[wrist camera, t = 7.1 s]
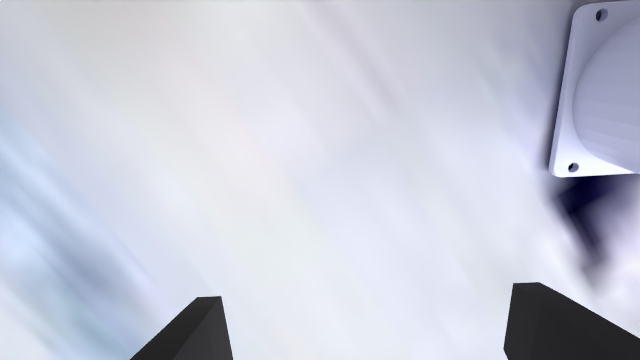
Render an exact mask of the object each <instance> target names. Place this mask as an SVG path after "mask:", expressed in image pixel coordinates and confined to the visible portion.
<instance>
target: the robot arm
mask: <svg viewBox="0 0 640 360" xmlns="http://www.w3.org/2000/svg"><path fill="white" fill-rule="evenodd" d="M599 10H600V12H601V18H600V20H598V21H597V20H596V13H597V12H598V11H599ZM572 163H573V167H572V168H571V169H570V170H568V167H569V165H570V164H572ZM549 171H550V173H551V174H553V175H554V176H556V177H576V176H594V175H611V174H629V173H638V174H640V0H628V1H615V2H603V3H591V4H587V5H583V6H581V7H580V8H578V9H577V10H576V12H575V13H574V16H573V20H572V26H571V32H570V39H569V45H568V51H567V57H566V63H565V70H564V76H563V82H562V88H561V94H560V101H559V107H558V113H557V119H556V125H555V132H554V138H553V144H552V150H551V156H550V163H549ZM504 351H505V354H506V356H507V358H508V360H640V338H638V337H636V336H634V335H633V334H631V333H629V332H627V331H626V330H624V329H622V328H620V327H619V326H617V325H615V324H613V323H612V322H610V321H608V320H606V319H605V318H603V317H601V316H599V315H598V314H596V313H594V312H592V311H591V310H589V309H587V308H585V307H584V306H582V305H580V304H578V303H577V302H575V301H573V300H571V299H570V298H568V297H566V296H564V295H562V294H561V293H559V292H557V291H555V290H553V289H551V288H549V287H547V286H545V285H543V284H541V283H539V282H535V283H513V289H512V296H511V302H510V309H509V316H508V322H507V329H506V336H505V342H504ZM130 360H233V356H232V351H231V346H230V340H229V335H228V330H227V324H226V319H225V314H224V309H223V303H222V298H221V296H216V297H197V298H196V299H195V300H194V301H192V302H191V303H190V304H189V305H188V306H187V307H186V308H185V309H184V310H183V311H182V312H180V313H179V314H178V315H177V316H176V317H175V318H174V319H173V320H172V321H171V322H170V323H169V324H168V325H167V326H166V327H165V328H163V329H162V330H161V331H160V332H159V333H158V334H157V335H156V336H155V337H154V338H153V339H152V340H151V341H149V342H148V343H147V344H146V345H145V346H144V347H143V348H142V349H141V350H140V351H139V352H137V353H136V354H135V355H134V356H133V357H132V358H131V359H130Z"/></svg>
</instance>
